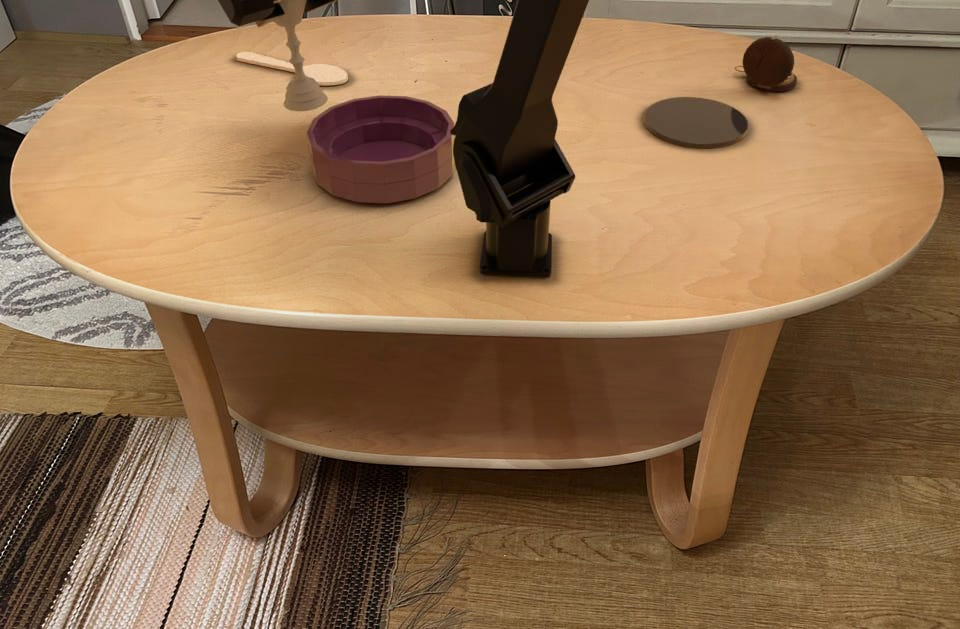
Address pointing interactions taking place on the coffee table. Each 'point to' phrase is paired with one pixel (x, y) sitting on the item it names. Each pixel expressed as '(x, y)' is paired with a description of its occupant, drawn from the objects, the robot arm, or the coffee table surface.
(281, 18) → the chalice
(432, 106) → the plum bowl
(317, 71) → the spoon
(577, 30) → the robot arm
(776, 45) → the compass
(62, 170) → the coffee table surface
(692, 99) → the slate coaster
